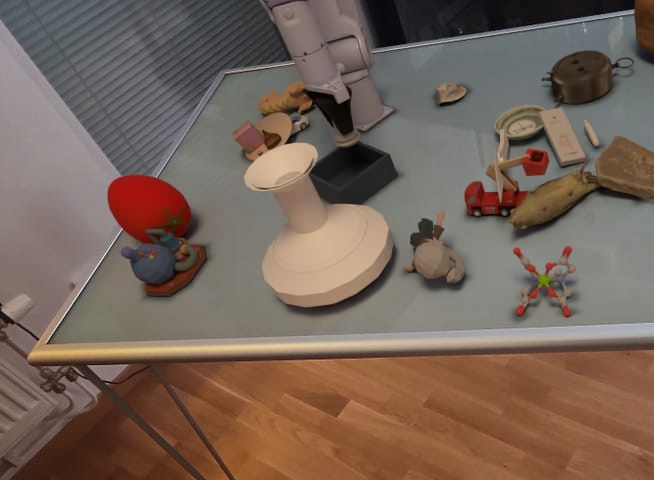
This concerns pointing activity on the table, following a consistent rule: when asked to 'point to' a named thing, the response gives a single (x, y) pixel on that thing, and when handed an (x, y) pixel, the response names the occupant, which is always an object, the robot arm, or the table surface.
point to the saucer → (520, 122)
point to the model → (165, 263)
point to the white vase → (316, 234)
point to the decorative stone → (626, 168)
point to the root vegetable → (553, 198)
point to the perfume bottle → (263, 135)
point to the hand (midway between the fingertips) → (342, 128)
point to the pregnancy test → (565, 136)
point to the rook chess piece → (346, 137)
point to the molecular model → (546, 280)
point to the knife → (501, 159)
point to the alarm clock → (582, 76)
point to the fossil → (449, 92)
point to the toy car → (298, 123)
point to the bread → (645, 24)
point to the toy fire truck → (504, 185)
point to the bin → (352, 174)
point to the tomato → (148, 206)
